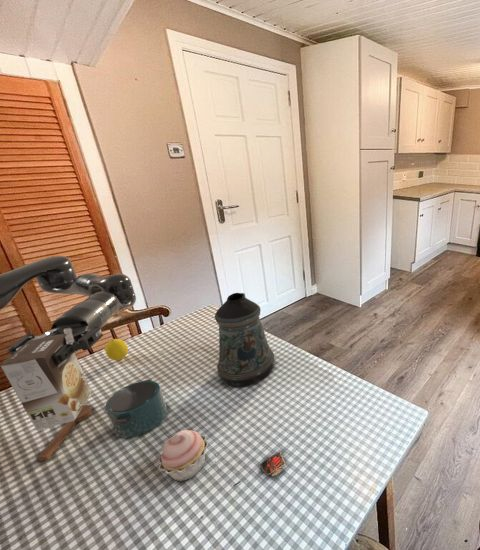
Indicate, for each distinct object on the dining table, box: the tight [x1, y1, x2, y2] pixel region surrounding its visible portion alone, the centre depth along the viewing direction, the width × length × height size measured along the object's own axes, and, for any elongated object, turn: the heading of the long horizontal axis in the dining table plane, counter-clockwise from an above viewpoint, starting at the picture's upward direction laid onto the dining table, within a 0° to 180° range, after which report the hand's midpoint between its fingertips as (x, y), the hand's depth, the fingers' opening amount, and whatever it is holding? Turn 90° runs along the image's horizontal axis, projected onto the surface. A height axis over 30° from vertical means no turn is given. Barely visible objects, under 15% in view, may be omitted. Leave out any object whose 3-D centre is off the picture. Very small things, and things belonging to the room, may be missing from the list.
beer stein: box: [214, 292, 275, 388], centre depth 91 cm, size 16×19×25 cm
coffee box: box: [0, 334, 92, 431], centre depth 62 cm, size 9×6×16 cm
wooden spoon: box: [37, 404, 92, 462], centre depth 74 cm, size 5×15×1 cm, turn 13°
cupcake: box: [157, 429, 209, 482], centre depth 64 cm, size 9×9×10 cm
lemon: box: [104, 338, 129, 361], centre depth 98 cm, size 6×6×8 cm
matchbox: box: [260, 451, 286, 477], centre depth 66 cm, size 5×5×1 cm
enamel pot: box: [104, 379, 168, 439], centre depth 76 cm, size 11×14×8 cm
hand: (31, 363), depth 58 cm, fingers closed on coffee box, 7 cm apart
